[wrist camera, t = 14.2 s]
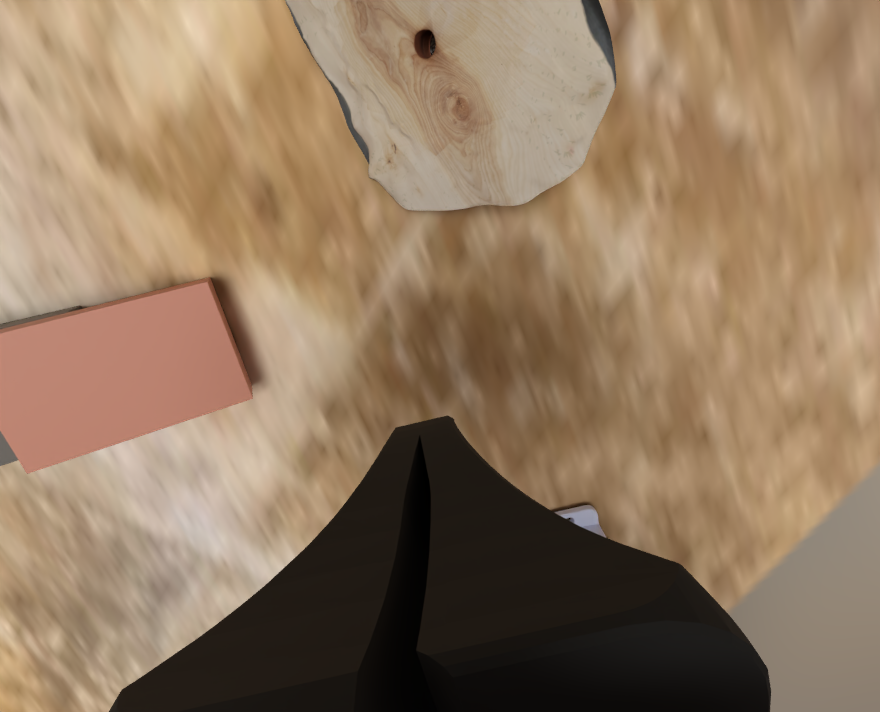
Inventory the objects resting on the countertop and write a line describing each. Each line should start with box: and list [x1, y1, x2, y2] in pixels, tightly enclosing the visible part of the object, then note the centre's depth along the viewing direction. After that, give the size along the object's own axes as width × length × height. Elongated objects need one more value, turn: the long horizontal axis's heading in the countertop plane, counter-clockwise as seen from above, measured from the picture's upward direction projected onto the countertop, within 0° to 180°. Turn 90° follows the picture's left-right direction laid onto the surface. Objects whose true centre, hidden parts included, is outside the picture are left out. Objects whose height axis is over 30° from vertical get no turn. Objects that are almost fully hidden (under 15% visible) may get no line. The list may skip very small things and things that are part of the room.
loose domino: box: [0, 277, 253, 474], centre depth 18 cm, size 2×5×8 cm
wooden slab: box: [285, 0, 616, 211], centre depth 15 cm, size 11×4×12 cm
